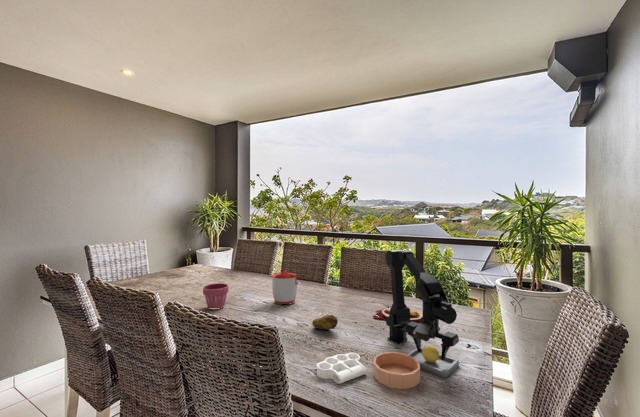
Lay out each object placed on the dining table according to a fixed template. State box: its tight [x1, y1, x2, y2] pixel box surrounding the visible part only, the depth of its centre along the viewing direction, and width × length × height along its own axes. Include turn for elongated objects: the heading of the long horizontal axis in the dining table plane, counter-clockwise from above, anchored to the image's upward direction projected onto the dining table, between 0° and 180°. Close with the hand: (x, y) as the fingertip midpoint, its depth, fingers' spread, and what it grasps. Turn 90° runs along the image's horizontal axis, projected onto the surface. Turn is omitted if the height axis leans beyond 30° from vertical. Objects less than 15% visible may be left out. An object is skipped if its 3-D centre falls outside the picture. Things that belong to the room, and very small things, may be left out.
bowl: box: [372, 351, 421, 390], centre depth 107 cm, size 16×16×4 cm
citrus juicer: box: [271, 269, 301, 305], centre depth 190 cm, size 16×17×20 cm
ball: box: [422, 344, 440, 363], centre depth 115 cm, size 6×6×6 cm
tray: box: [406, 347, 460, 379], centre depth 115 cm, size 16×12×2 cm
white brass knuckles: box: [316, 352, 368, 384], centre depth 111 cm, size 3×18×15 cm
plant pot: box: [202, 282, 230, 309], centre depth 181 cm, size 14×14×13 cm
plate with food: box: [372, 306, 423, 324], centre depth 167 cm, size 25×26×4 cm
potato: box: [312, 314, 339, 331], centre depth 147 cm, size 8×13×8 cm, turn 36°
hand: (430, 355), depth 115 cm, fingers open, 9 cm apart
